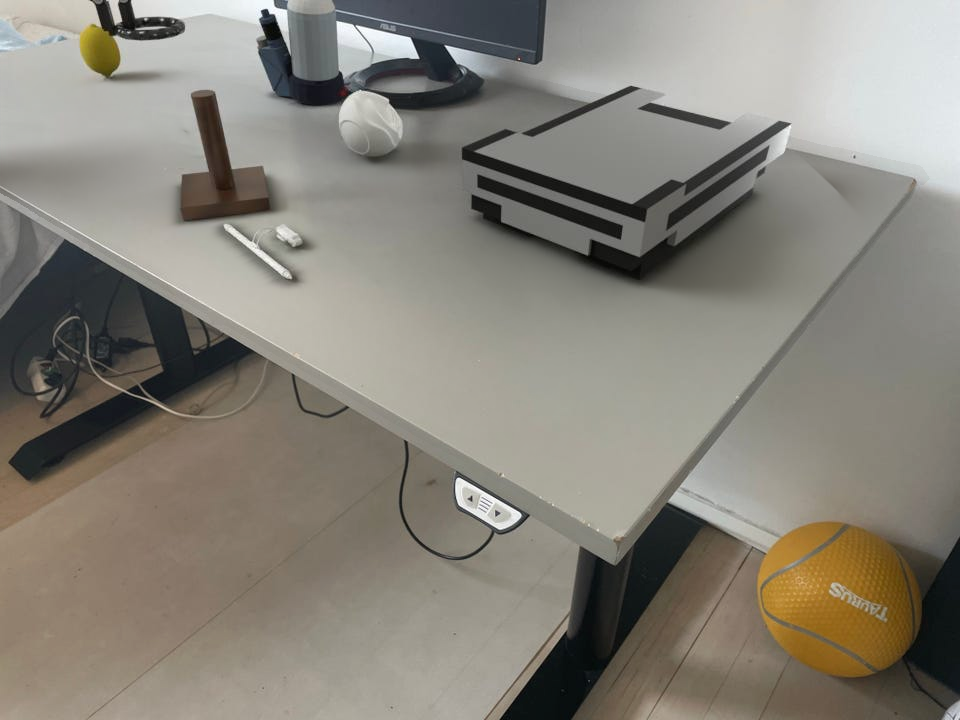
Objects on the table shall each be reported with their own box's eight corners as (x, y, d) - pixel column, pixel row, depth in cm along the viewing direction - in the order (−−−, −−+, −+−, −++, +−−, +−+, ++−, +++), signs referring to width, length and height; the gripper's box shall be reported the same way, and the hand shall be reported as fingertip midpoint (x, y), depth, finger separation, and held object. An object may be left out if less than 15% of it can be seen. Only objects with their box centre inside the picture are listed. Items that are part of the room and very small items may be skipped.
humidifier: (352, 101, 107) (345, -93, 90) (297, 107, 104) (280, -94, 87) (335, 80, 112) (326, -107, 95) (283, 85, 109) (264, -108, 92)
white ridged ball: (398, 167, 87) (393, 103, 82) (336, 166, 87) (328, 101, 82) (407, 143, 93) (403, 82, 88) (349, 141, 93) (343, 81, 89)
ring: (112, 43, 87) (110, 32, 87) (119, 27, 94) (116, 17, 93) (185, 39, 89) (183, 29, 89) (186, 24, 96) (184, 14, 95)
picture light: (221, 228, 74) (217, 210, 73) (260, 216, 76) (256, 198, 75) (288, 283, 66) (284, 262, 64) (329, 267, 68) (326, 247, 67)
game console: (775, 182, 84) (795, 112, 79) (633, 292, 65) (647, 209, 60) (623, 139, 95) (631, 75, 90) (462, 223, 75) (461, 147, 70)
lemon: (119, 70, 118) (104, 18, 113) (131, 78, 115) (116, 24, 110) (84, 76, 115) (67, 23, 110) (95, 84, 112) (78, 30, 107)
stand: (183, 221, 75) (153, 111, 68) (184, 186, 82) (158, 84, 75) (270, 210, 78) (250, 103, 70) (265, 177, 84) (246, 76, 77)
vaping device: (295, 98, 106) (263, 13, 98) (271, 95, 109) (238, 13, 101) (307, 90, 107) (276, 6, 99) (283, 88, 110) (251, 6, 102)
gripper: (143, -133, 85) (178, 24, 95) (16, -134, 81) (66, 30, 92) (139, -129, 79) (177, 38, 90) (2, -129, 76) (58, 44, 86)
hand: (121, 33), depth 91 cm, fingers closed on ring, 1 cm apart
